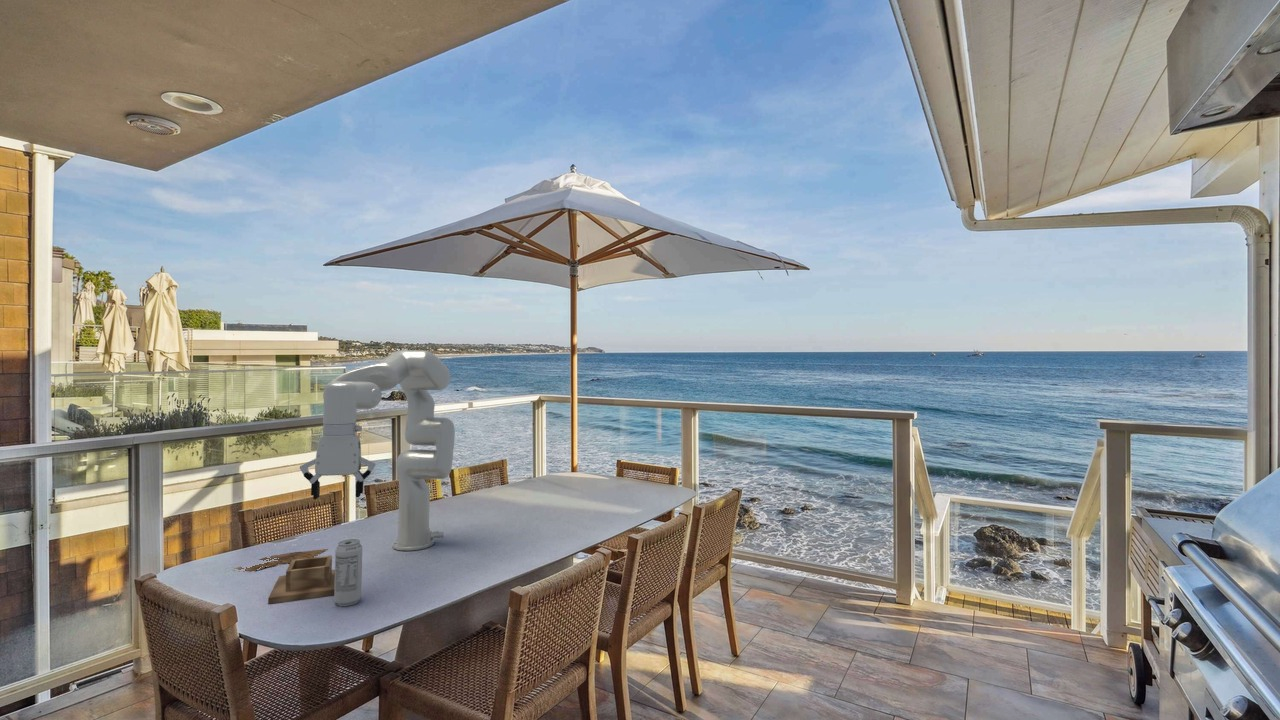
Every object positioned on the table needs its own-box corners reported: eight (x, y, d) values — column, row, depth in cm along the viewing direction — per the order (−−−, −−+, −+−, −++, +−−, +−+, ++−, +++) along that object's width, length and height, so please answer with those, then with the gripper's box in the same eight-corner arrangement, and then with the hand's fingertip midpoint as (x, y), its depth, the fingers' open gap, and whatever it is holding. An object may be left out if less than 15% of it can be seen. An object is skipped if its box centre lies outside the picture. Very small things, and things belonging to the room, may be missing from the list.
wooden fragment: (238, 576, 157) (238, 572, 157) (228, 567, 164) (228, 563, 164) (336, 555, 176) (336, 551, 176) (323, 547, 183) (323, 544, 183)
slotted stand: (345, 573, 159) (345, 550, 159) (341, 594, 145) (341, 568, 145) (279, 581, 153) (279, 557, 153) (268, 604, 138) (268, 577, 138)
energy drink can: (365, 597, 143) (366, 538, 143) (354, 607, 137) (355, 545, 137) (341, 597, 143) (342, 538, 143) (329, 607, 137) (330, 545, 137)
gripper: (378, 428, 150) (376, 492, 150) (305, 429, 145) (303, 496, 144) (374, 431, 143) (372, 498, 142) (297, 432, 138) (294, 502, 137)
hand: (337, 497), depth 143 cm, fingers open, 9 cm apart
